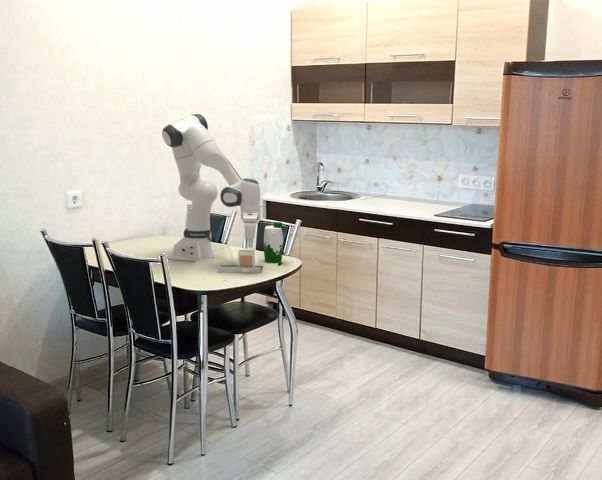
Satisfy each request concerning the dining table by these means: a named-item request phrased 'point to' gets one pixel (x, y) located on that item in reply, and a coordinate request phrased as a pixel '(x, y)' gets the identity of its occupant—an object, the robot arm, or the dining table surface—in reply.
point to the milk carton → (273, 243)
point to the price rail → (238, 269)
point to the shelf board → (237, 266)
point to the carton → (246, 258)
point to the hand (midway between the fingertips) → (250, 245)
